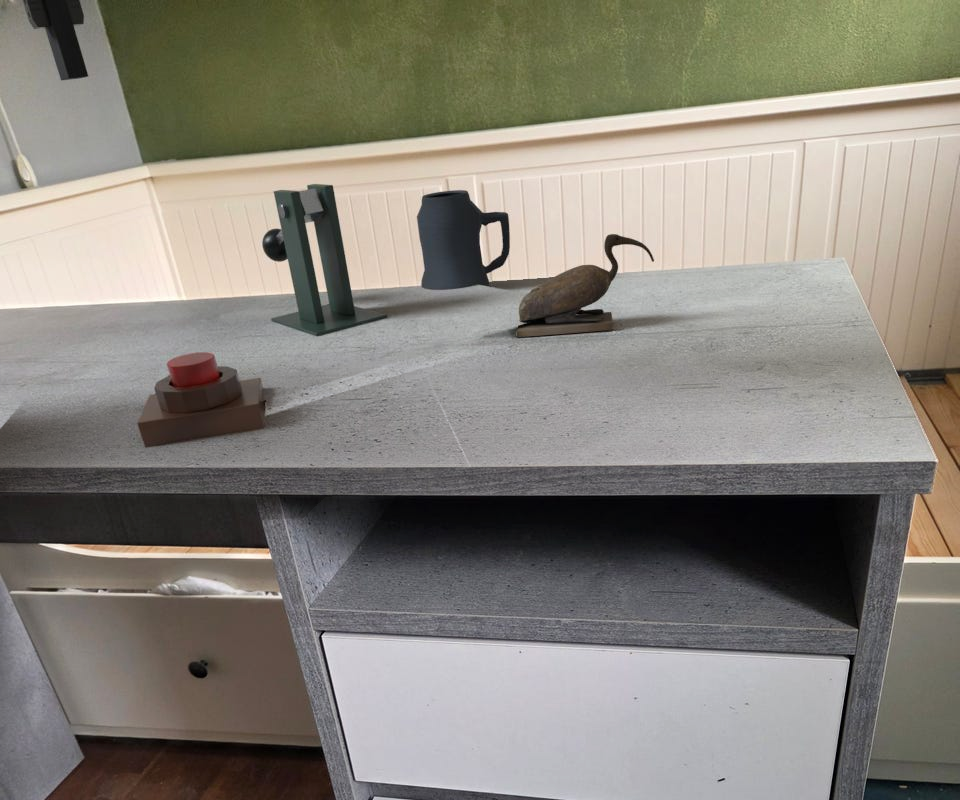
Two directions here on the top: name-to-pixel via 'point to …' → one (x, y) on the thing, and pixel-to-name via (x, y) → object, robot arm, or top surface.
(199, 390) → the button block
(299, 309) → the bracket
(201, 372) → the button
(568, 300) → the figurine
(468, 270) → the mug
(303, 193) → the lever
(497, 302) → the top surface
